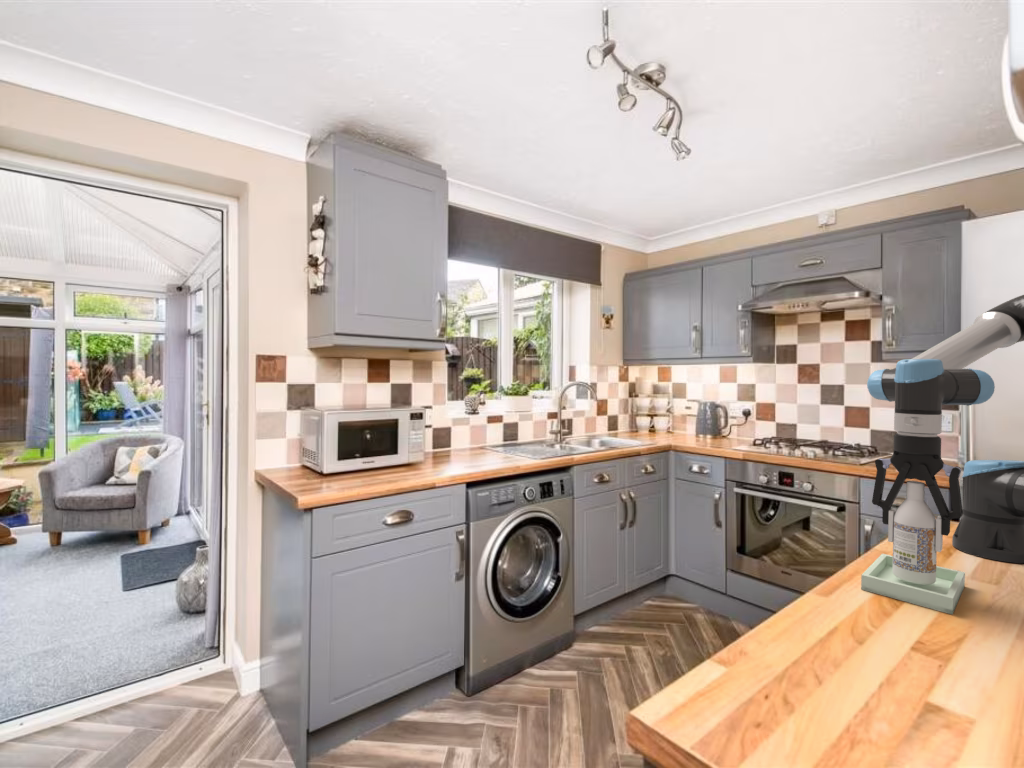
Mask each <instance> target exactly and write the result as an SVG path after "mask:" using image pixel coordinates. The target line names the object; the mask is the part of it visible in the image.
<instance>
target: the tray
mask: <svg viewBox="0 0 1024 768" xmlns="http://www.w3.org/2000/svg"><path fill="white" fill-rule="evenodd" d="M965 576H966V572H965V571H961V570H956V569H951V568H949V567H943V566H938V565H936V582H935V583H933V584H930V585H923V584H915V583H911V582H907V581H904V580H902V579H899V578H898V577H896V576H895V575H894V574H893V555H891V554H886V553H881V554H880V555H879V556H878V557H877V558H876V559H875V560H874V562H873V563H871V564H870V566H868V567H867V569H866V570H865V571H864V572H863V573H862V574H861V577H860V578H861V581H860V582H861V584H860V589H861V590H862V591H866V592H869V593H872V594H873V593H874V594H877V595H880V596H883V597H887V598H891V599H896V600H898V601H901V602H905V603H908V604H909V603H910V604H913V605H916V606H921V607H924V608H927V609H931V610H935V611H938V612H941V613H944V614H945V613H946V614H947V615H948V614H949V615H952V616H953V615H954V612H955V610H956V608H957V605H958V603H959V600H960V598H961V596H962V594H963V592H964V588H965V581H966V579H965V578H966V577H965Z"/></svg>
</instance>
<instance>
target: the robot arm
mask: <svg viewBox="0 0 1024 768" xmlns="http://www.w3.org/2000/svg"><path fill="white" fill-rule="evenodd" d="M1019 342H1020V343H1021V342H1024V294H1022V295H1019V296H1015V297H1014V298H1012V299H1009V300H1007V301H1005V302H1003V303H1000V304H998V305H997V306H994V307H992V308H991V309H989V310H987V311H985V312H983V313H981V314H980V315H978V316H977V317H976V318H975V319H974V321H973V324H970V325H969V326H967V327H966V328H963V329H962V330H960V331H958V332H956V333H955V334H953V335H951V336H950V337H948V338H946V339H944V340H943V341H941V342H939V343H937V344H935V345H934V346H932V347H930V348H929V349H928V348H927V350H925V351H923V352H921V353H919V354H918V355H916V356H914V357H912V358H911V359H910V358H909V359H907V358H906V359H905V358H904V359H901V360H899V361H897V363H896V365H895V367H894V368H891V369H890V368H884V369H877V370H874V371H872V373H870V375H869V376H868V378H867V381H866V382H867V383H866V385H867V391H868V393H869V395H870V396H871V397H873V398H874V399H876V400H879V401H886V402H889V403H890V402H894V415H893V416H894V418H893V419H894V420H893V431H895V432H896V433H895V434H894V435H893V454H892V455H891V457H890V458H881V457H880V458H877V459H875V460H874V465H875V467H876V474H875V481H874V487H873V494H872V499H871V503H872V504H873V505H875V506H878V507H880V508H881V509H882V517H881V518H882V524H883V525H888V527H887V537H888V538H887V542H889V543H893V523H894V515H895V512H896V510H897V508H892V507H893V504H894V502H895V500H896V499H897V497H898V494H899V493H900V491H901V489H902V487H903V485H904V483H905V481H906V480H916V481H917V480H918V481H920V482H924V483H925V484H926V485H925V486H927V487H928V490H929V492H930V495H931V497H932V498H933V501H934V504H935V506H936V508H937V511H938V513H939V515H938V516H937V517H935V518H936V545H935V551H937V553H941V552H942V550H943V543H944V542H943V540H944V539H943V538H944V537H943V536H947V537H948V536H949V535H950V533H951V521H952V520H954V519H958V520H959V519H960V520H959V522H958V524H957V527H956V528H955V530H954V533H953V535H952V538H951V539H952V541H951V542H952V543H951V544H952V546H953V548H955V549H957V550H959V551H961V552H963V553H966V554H969V555H973V556H976V557H980V558H985V559H989V560H993V561H998V562H1006V563H1014V564H1024V460H1013V459H1012V460H1011V459H1010V460H1009V459H974V460H971V459H970V460H969V461H966V462H965V463H964V466H963V473H962V468H961V467H960V466H953V465H949V464H946V463H945V462H944V461H943V459H942V438H941V436H938V435H940V434H942V430H943V429H942V427H943V414H942V413H943V410H942V409H943V406H968V407H969V406H972V405H981V404H983V403H986V402H987V401H988V400H990V399H991V398H992V397H993V395H994V393H995V390H996V389H995V387H996V386H995V381H994V380H993V378H992V376H991V375H990V374H989V373H987V372H985V371H983V370H981V369H973V368H966V367H968V366H969V365H971V364H973V363H974V362H976V361H979V360H980V359H981V358H983V357H986V356H987V355H988V354H990V353H992V352H994V351H996V350H997V349H1005V348H1009V347H1011V346H1014V345H1015V344H1017V343H1019ZM890 465H892V466H893V467H894V468H895V470H896V471H897V472H898V474H897V476H896V477H895V480H894V482H893V484H892V486H891V488H890V489H889V492H888V493H887V495H886V497H885V500H884V499H883V494H884V488H885V481H886V476H887V469H889V468H890ZM941 470H943V471H944V474H945V476H946V477H948V484H949V493H950V500H951V501H950V502H951V508H952V510H950V509H949V508H948V505H947V502H946V501H945V498H944V496H943V494H942V491H941V489H940V487H939V485H938V481H937V479H936V477H935V476H936V475H937V474H938V473H939V472H940V471H941ZM961 473H962V476H961V477H962V494H961V488H960V487H961V486H960V479H959V478H960V475H961ZM961 495H962V496H961Z"/></svg>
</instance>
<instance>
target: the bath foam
mask: <svg viewBox="0 0 1024 768" xmlns="http://www.w3.org/2000/svg"><path fill="white" fill-rule="evenodd" d="M925 484H926V483H925V482H923V481H917V480H907V481H906V486H905V487H906V488H905V489H906V490H905V497H906V498H905V499H904V501H902V502H901V504H900V505H899V506H898V507H897V508H896V512H895V515H894V523H893V542H892V556H893V574H894V575H895V576H896V577H898V578H899V579H902V580H904V581H907V582H911V583H915V584H923V585H930V584H933V583H935V582H936V566H937V555H938V554H937V553H938V552H937V551H935V545H936V518H937V517H935V514H934V512H933V511H932V509H931V508H930V506H929V505H928V504H927V502H926V501H925V497H926V495H925V494H926V493H925V486H926V485H925Z"/></svg>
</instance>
